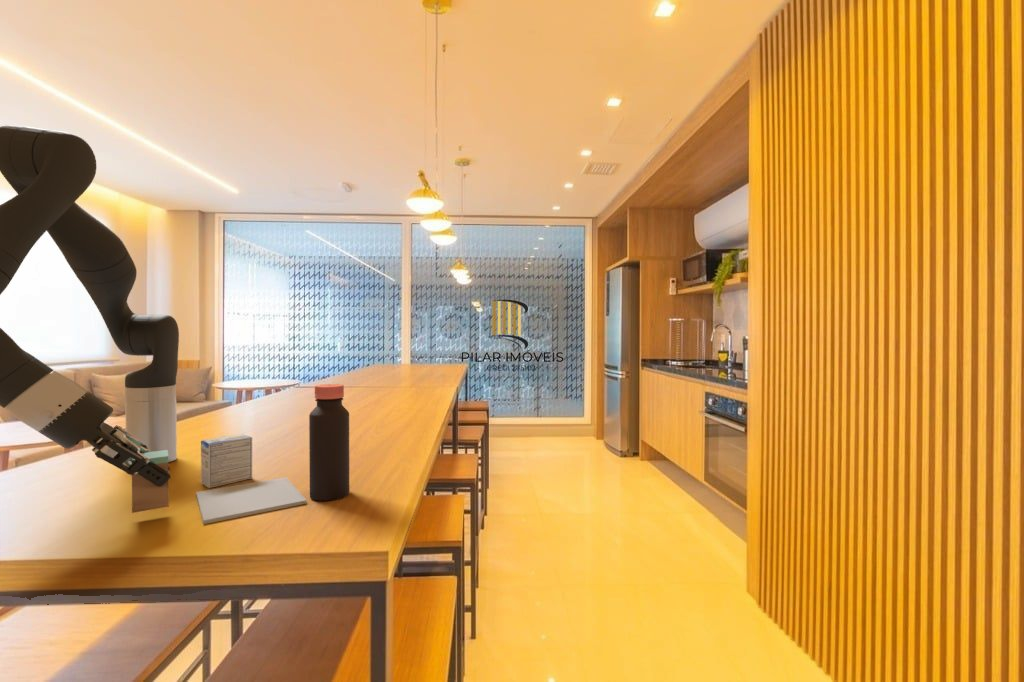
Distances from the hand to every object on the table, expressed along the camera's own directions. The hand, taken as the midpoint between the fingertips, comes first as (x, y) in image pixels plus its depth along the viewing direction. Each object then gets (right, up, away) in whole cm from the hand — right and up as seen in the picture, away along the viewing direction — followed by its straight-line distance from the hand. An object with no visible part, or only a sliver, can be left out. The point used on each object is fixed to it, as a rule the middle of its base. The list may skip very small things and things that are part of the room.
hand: (165, 476), depth 77 cm
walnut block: (-2, -4, -1) cm, 5 cm away
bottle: (+22, -7, +10) cm, 26 cm away
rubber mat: (+9, -6, +8) cm, 14 cm away
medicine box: (-1, -6, +18) cm, 19 cm away
